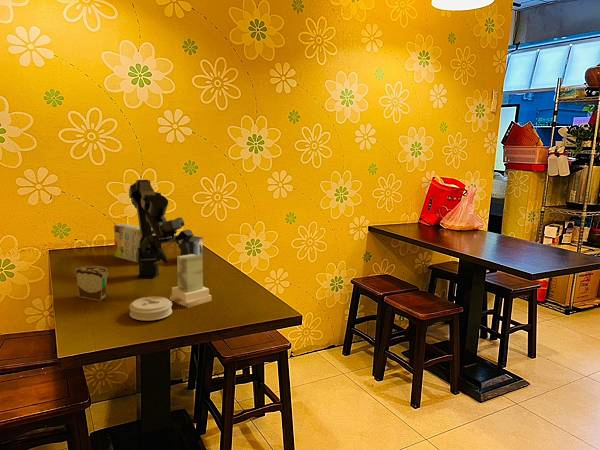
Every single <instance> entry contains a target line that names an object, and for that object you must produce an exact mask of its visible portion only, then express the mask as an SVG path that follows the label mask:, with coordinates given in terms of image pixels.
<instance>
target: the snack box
mask: <svg viewBox="0 0 600 450" xmlns="http://www.w3.org/2000/svg"><path fill="white" fill-rule="evenodd" d="M113 230H114V231H113V232H114V234H113V235H114V236H113V237H114V240H113V241H114V257H115V258H120V259H122V260H126V261H130V262H134V263H137V264H139V263H138V262H137V261H136V252H137V248H138V245H139V242H140V240H141V234H140V228H139V225H133V224H128V223H118V224H114V225H113ZM152 235H155V234H152Z"/></svg>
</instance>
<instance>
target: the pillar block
mask: <svg viewBox="0 0 600 450" xmlns="http://www.w3.org/2000/svg"><path fill="white" fill-rule="evenodd" d="M203 258H204V256H203V257H201V256H198V255H194V254H189V255H183V256H181V255H179V256H178V255H177V257H176V260H177V261H176V262H177V263H176V264H177V265H176V266H177V270H176V272H177V273H176V274H177V286H178V288H179V289H182V290H184V291H187V292H189V291H194V290H198V289H202V288H203V286H204V270H203V267H204V266H203V264H204V260H203Z"/></svg>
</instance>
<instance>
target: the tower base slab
mask: <svg viewBox="0 0 600 450" xmlns="http://www.w3.org/2000/svg"><path fill="white" fill-rule="evenodd" d="M212 297H213V296H212V295H211V294H209V296H207V297H203V298H199V299H195V300H191V301H187V302H186V301H184V300H182V299H180V298H178V297H176V296H174V295H172V294H170V295H169V300H171V302H172V301H174V302H173V303H175V302H176V303H175V304H177V303H178V305H180V304H181V305H180V306H182V305H183V306H182V307H184V306H185V307H184V308H187V309H189V308H192V307H195V306H199V305H201V304H205V303H208V302H211V301H212V299H213V298H212Z"/></svg>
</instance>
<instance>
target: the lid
mask: <svg viewBox="0 0 600 450" xmlns="http://www.w3.org/2000/svg"><path fill="white" fill-rule="evenodd" d="M172 307H173V302H172V301H170V299H168V298H167V297H163V296H155V295H154V296H153V295H151V296H144V297H141V298H137V299H135V300H134V301H132V302H131V303H130V304H129V310H130V311H129V316H130V317H131V318H132V319H135V320H139V321H156V320H160V319H161V320H162V319H165V318H166V317H169V316H170V315H172V314H173V309H172Z"/></svg>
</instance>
